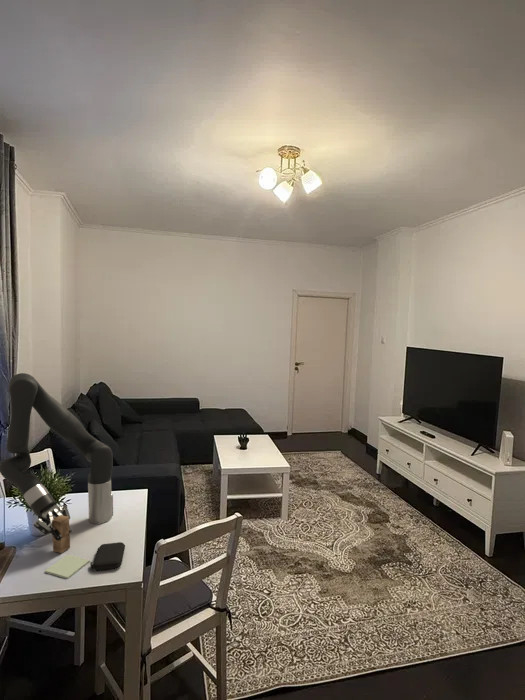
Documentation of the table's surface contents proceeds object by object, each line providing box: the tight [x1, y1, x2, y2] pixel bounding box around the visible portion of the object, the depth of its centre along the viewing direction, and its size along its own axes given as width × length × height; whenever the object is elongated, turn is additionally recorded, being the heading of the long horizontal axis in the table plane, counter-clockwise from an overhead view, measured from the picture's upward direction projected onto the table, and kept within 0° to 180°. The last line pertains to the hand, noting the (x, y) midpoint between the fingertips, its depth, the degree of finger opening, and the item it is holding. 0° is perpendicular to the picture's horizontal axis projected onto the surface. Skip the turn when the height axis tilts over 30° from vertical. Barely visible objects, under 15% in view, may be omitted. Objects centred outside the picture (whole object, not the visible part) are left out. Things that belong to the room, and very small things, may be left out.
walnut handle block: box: [52, 515, 71, 554], centre depth 149 cm, size 4×4×12 cm
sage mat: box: [44, 554, 91, 580], centre depth 140 cm, size 10×10×1 cm
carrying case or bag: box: [89, 541, 126, 572], centre depth 144 cm, size 11×3×15 cm
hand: (65, 535), depth 149 cm, fingers closed on walnut handle block, 4 cm apart
